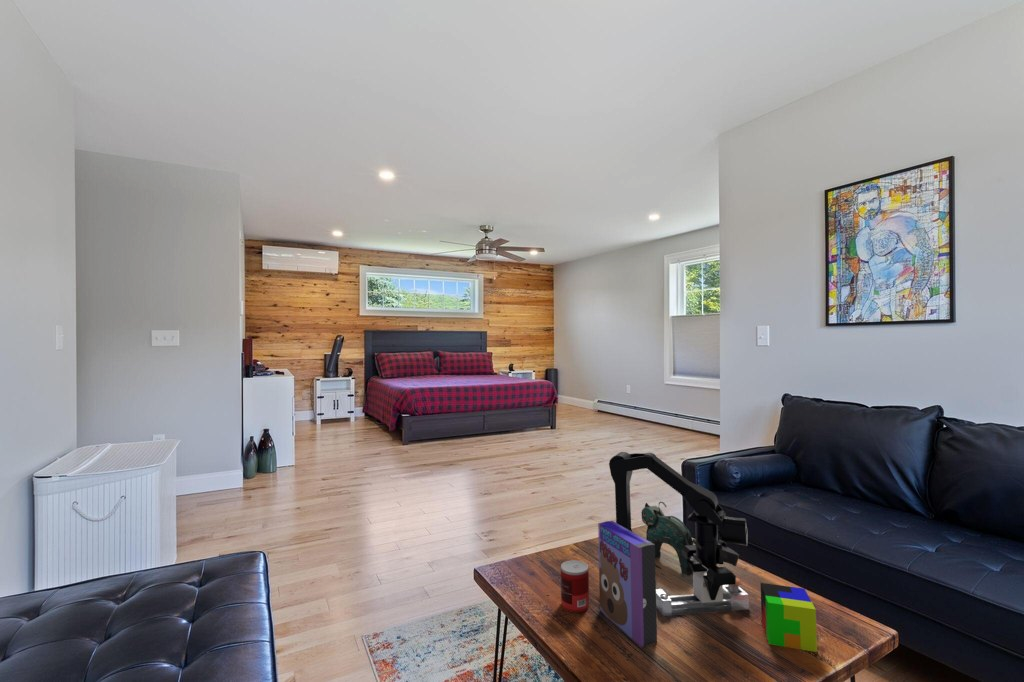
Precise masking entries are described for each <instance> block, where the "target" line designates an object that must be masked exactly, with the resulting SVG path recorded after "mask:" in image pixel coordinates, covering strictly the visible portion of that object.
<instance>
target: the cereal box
mask: <svg viewBox="0 0 1024 682" xmlns="http://www.w3.org/2000/svg"><path fill="white" fill-rule="evenodd" d="M597 526H598V528H597V531H598V534H597V535H598V536H597V537H598V574H599V575H598V576H599V577H598V578H599V579H598V581H599V582H598V583H599V584H598V585H599V586H598V587H599V611H600V612H601V614H603V616H605V617H606V618H607V619H608V620H609V621H611V622H612V623H613V624H614V625H615V626H616V627H617V628H618V629H620V630H621V631H622V632H623V633H624V634H625V635H626V636H627V637H628V638H629V639H631V640H632V641H633V642H634V643H635V644H636V645H637V646H638V647H640V648H646V647H648V646H652V645H654V644H657V643H658V629H657V628H658V624H657V619H658V618H657V607H656V589H657V587H656V586H657V580H656V578H657V576H656V558H655V544H653V543H651V542H649V541H648V540H646V538H645V537H642V536H641V535H639V534H637V533H635V532H633V530H632V531H630V530H628V529H626V528H624V527H623V526H621V525H619V524H617V523H616V521H614V520H610V521H609V520H607V521H606V520H605V521H603V522H599V523H598V524H597Z"/></svg>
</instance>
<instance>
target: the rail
mask: <svg viewBox="0 0 1024 682" xmlns="http://www.w3.org/2000/svg"><path fill="white" fill-rule="evenodd" d="M749 598H750V597H749V594H748V593H747V592H746V591H745V590H744V589H742V588H741V587H740V586H739V593H730V592H729V591H728V585H723V601H719V602H706V603H702V602H701V601H700V600H699V599H698V598H697V597H696V596H695V595H694V594H680V595H679V594H678V595H668V594H667V593H666V592H665V591H664V589H662V588H656V610H658V611H659V613H660V614H661V615H662V616H663V617H666V616H667V617H668V616H680V615H683V616H684V615H692V614H693V615H694V614H695V615H696V614H704V613H705V614H706V613H720V612H721V613H722V612H731V611H732V612H734V611H746V610H750V608H749V607H750V606H749V605H750V602H749V601H750V600H749Z"/></svg>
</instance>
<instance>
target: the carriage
mask: <svg viewBox="0 0 1024 682" xmlns="http://www.w3.org/2000/svg"><path fill="white" fill-rule="evenodd" d="M707 571H708V570H707ZM707 571H702V572H693V574H692V583H693V584H692V587H693V589H692V590H693V594H694V595H695V596H696V597H697V598H698V599H699V600H700V601H701V602H702V603H706V602H719V601H723V585H721V586H720V588H719V590H718V593H717V596H716V599H715V600H711V599H710V596H709V593H708V590H707V587H706V584H705V581H704V578H703V576H707Z"/></svg>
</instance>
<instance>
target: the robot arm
mask: <svg viewBox="0 0 1024 682" xmlns="http://www.w3.org/2000/svg"><path fill="white" fill-rule="evenodd" d="M608 466H609V471H610V475H611V479H612V481H613V483H614V490H615V491H614V492H615V493H614V495H615V498H614V499H615V501H614V502H615V523H617V524H619V525H621V526H623V527H624V528H626V529H628V530H630V531H632V532H633V529H632V516H631V515H632V513H631V511H632V508H631V486H630V484H631V479H632V476H633V475H632V474H633V473H634V472H633V471H637V470H645V469H646V470H648V471H650V472H651V473H653V474H654V475H655V476H656V477H657V478H659V479H660V480H661V481H663V482H664V483H665V484H666V485H668V486H670V488H672V490H674V491H676V492H677V493H678V494H679V495H681V496H682V497H683V499H684V500H685V501H686V503H687V505H688V506H689V507H691V509H692V510H693V512H692V513H690V514H689V515H688V517H687V519H686V520H687V521H689V522H693V523H694V526H695V527H694V529H695V535H694V536H695V538H692V541H693V545H685V546H684V547H683V548H682V555H683V556H684V557H685V558H686V559H688V558H689V556H690V560H688V563H689V565H690V567H691V569H692V571H693V572H702V571H707V576H703V578H704V581H705V584H706V587H707V590H708V593H709V596H710V599H711V600H715V599H716V596H717V593H718V590H719V588H720V586H721V585H732V584H736V578H737V575H735V573H733V572H732V571H731V570H730V569H728V567H726V566H718V565H724V563H727V564H730V565H732V566H733V567H737V564H738V561H739V558H740V554H739V553H737V552H736V551H735V550H733V549H732V548H730V547H728V545H727V543H728V544H735V545H740V546H744V547H747V546H748V537H749V532H748V527H747V519H746V518H744V517H732V516H727V515H726V512H725V511H724V510H723V508H722V507H721V505H720V503H719V500H718V497H717V495H716V494H715V493H714V492H713V491H712V490H711V491H710V490H709V489H707V488H705V487H704V486H701V485H698V484H696V483H693V482H691V481H689V479H687V478H685V477H684V476H683V475H682V474H681V473H679V472H678V471H676V470H675V469H674V468H672V467H671V466H670V465H668V464H667V463H666V462H664V461H663V460H661V459H660V458H659V457H658V456H657V455H656V454H655V453H653V452H646V453H644V452H642V453H641V452H638V453H637V452H636V453H628V452H627V451H620V452H618V453H617V454H615V455H614V456H613V457H611V458H610V459H609V462H608ZM718 526H719V527H718ZM718 530H719V531H718ZM718 533H719V534H718ZM718 537H719V538H721V539H719V540H718Z"/></svg>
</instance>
